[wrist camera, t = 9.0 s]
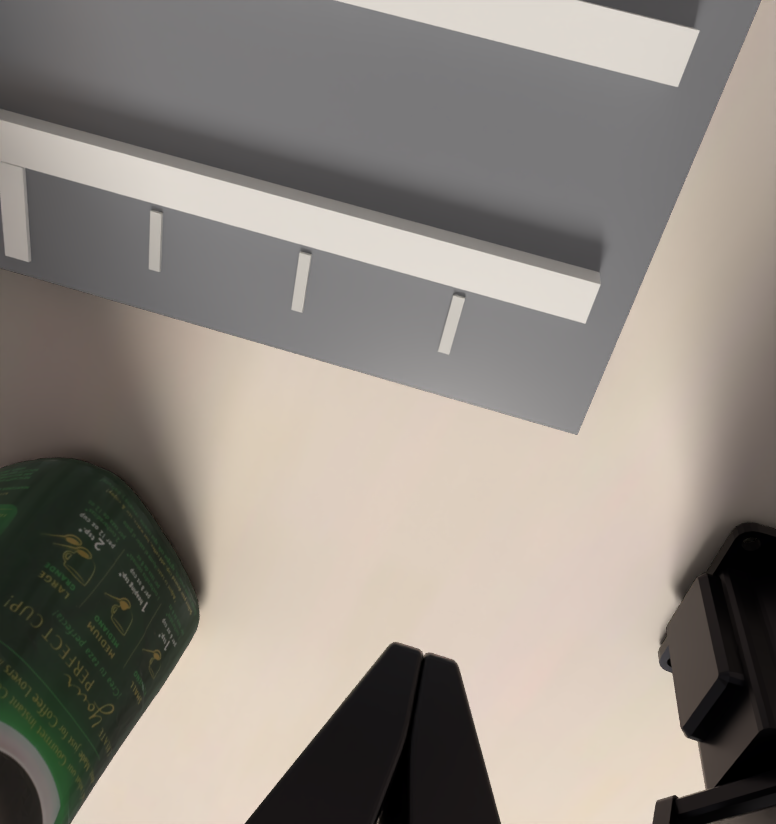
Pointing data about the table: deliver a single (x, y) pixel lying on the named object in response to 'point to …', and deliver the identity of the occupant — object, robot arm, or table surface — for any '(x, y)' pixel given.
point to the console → (365, 173)
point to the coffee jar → (79, 630)
